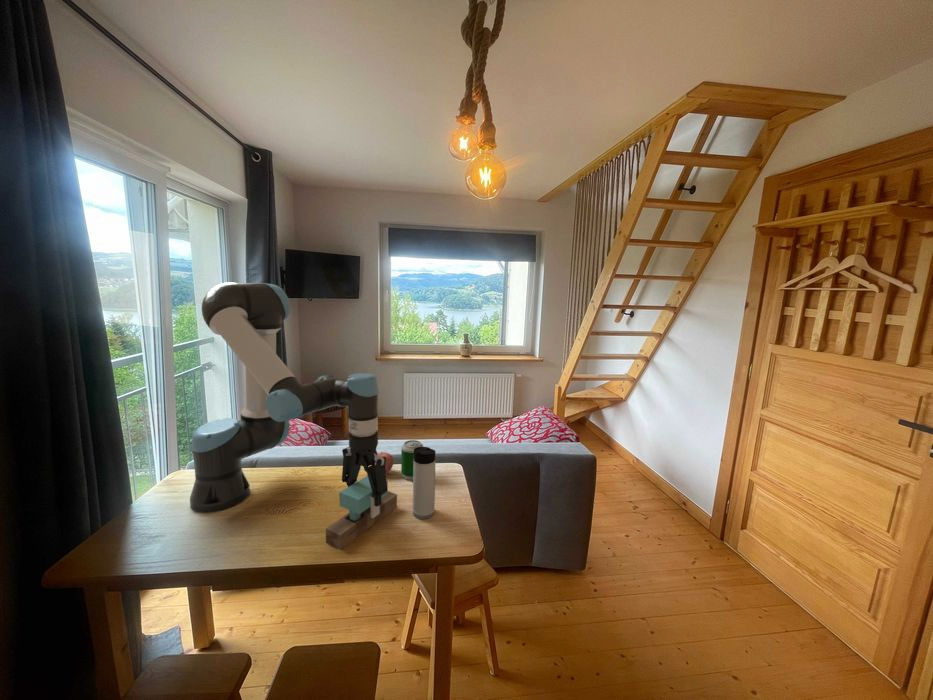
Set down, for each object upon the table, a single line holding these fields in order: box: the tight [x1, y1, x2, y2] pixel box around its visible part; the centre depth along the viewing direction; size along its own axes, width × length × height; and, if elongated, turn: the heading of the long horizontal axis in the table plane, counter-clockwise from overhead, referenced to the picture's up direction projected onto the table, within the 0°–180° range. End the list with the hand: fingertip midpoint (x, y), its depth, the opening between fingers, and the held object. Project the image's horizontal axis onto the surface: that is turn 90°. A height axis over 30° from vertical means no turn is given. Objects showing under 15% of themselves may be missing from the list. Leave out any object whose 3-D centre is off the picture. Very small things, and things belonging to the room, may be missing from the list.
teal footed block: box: [338, 475, 389, 521], centre depth 103 cm, size 7×11×8 cm, turn 151°
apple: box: [377, 451, 395, 475], centre depth 132 cm, size 7×7×8 cm
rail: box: [325, 490, 398, 551], centre depth 104 cm, size 5×22×4 cm, turn 151°
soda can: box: [400, 439, 424, 481], centre depth 130 cm, size 8×8×12 cm
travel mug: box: [412, 446, 436, 520], centre depth 108 cm, size 6×7×20 cm
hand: (364, 511), depth 103 cm, fingers closed on teal footed block, 7 cm apart
